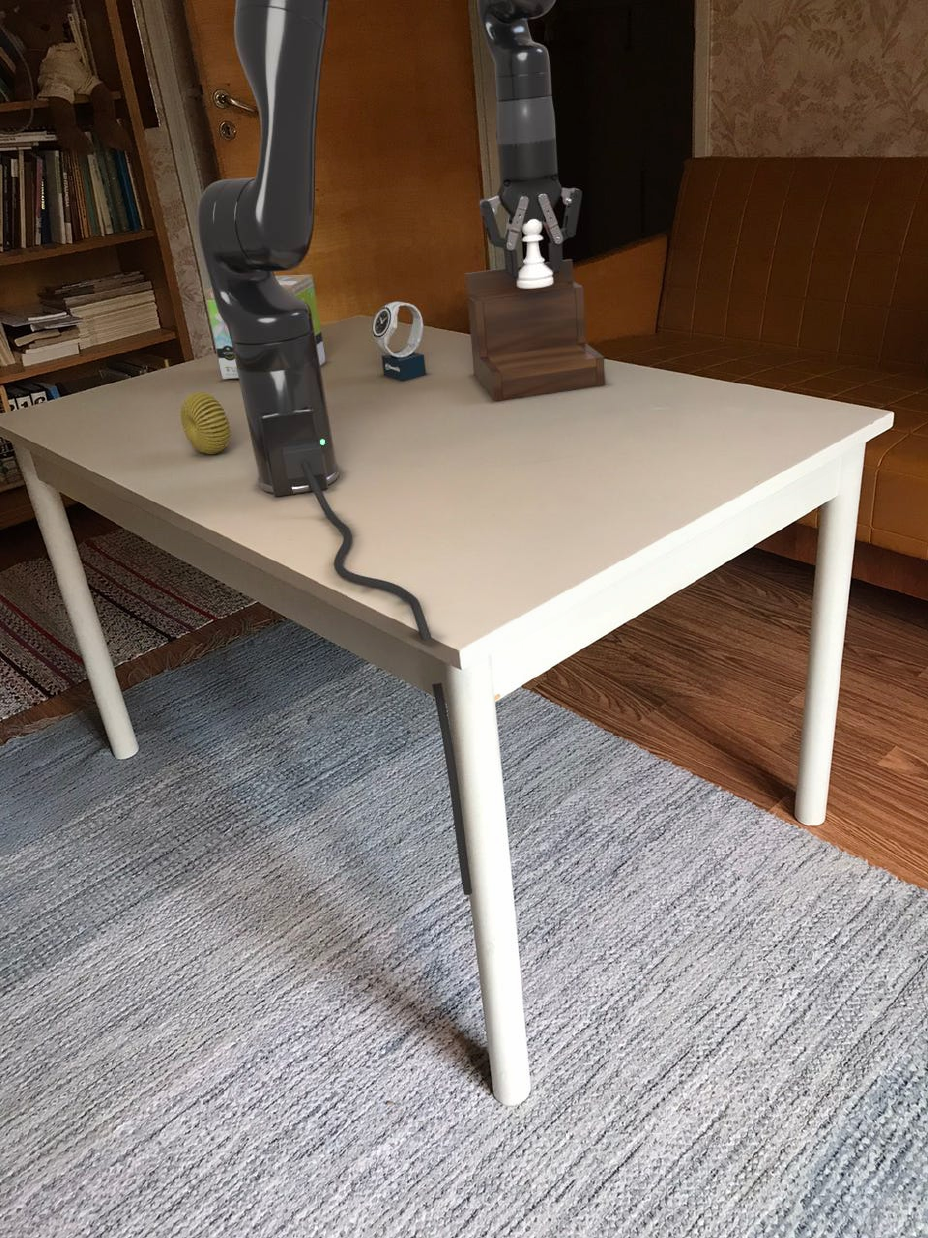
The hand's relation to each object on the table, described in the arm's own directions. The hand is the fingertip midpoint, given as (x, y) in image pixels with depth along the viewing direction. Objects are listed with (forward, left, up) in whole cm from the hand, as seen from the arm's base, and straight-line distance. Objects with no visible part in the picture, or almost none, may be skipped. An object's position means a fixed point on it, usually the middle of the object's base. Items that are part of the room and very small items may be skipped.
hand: (534, 274), depth 137 cm
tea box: (+31, +38, -16) cm, 51 cm away
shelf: (+4, 0, -15) cm, 16 cm away
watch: (+17, +18, -16) cm, 29 cm away
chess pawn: (0, 0, -2) cm, 2 cm away
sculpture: (-8, +47, -16) cm, 50 cm away
